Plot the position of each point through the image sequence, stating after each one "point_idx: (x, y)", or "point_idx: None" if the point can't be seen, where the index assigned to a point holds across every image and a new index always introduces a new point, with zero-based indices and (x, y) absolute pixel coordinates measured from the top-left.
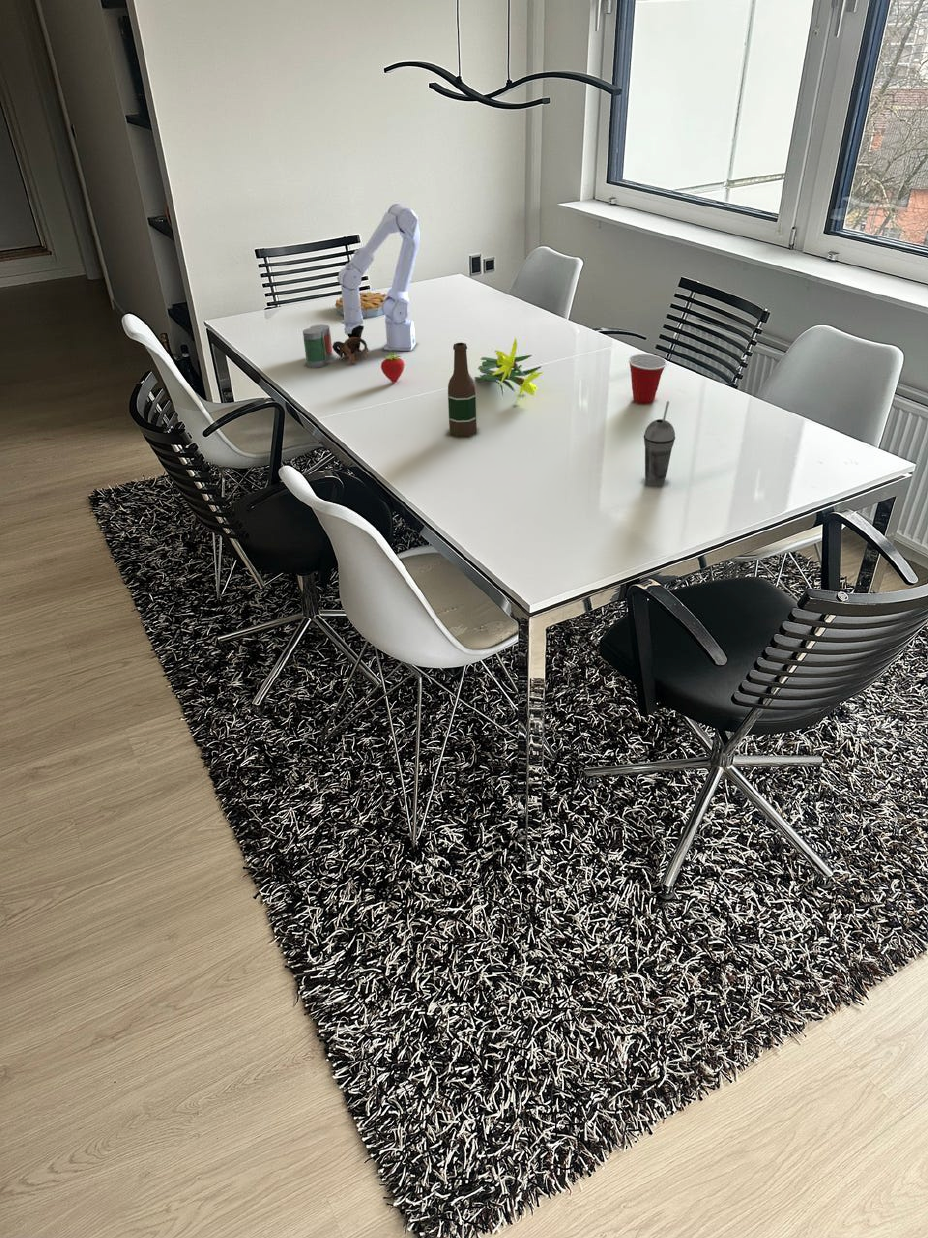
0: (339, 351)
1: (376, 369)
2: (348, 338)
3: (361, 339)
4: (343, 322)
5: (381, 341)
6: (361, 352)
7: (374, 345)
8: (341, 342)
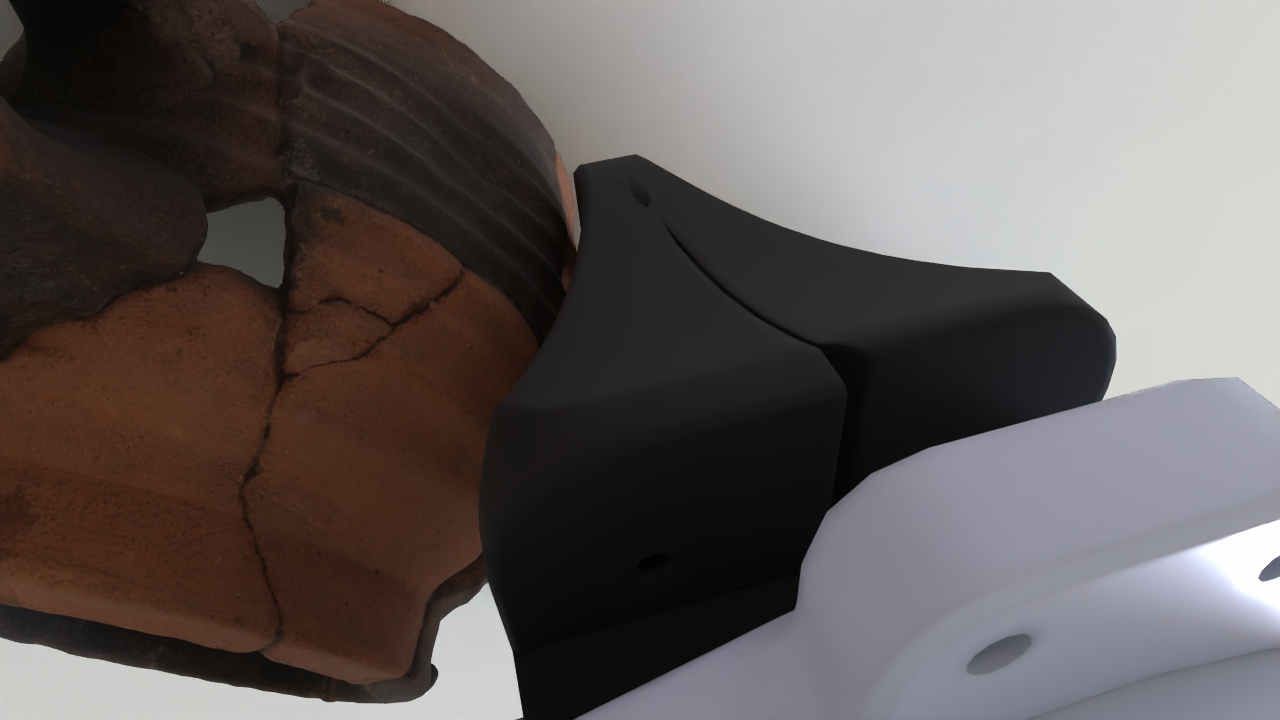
0: (37, 25)
1: (59, 683)
2: (104, 604)
3: (384, 697)
4: (820, 699)
5: (1187, 232)
6: (92, 652)
7: (1039, 221)
8: (41, 244)
